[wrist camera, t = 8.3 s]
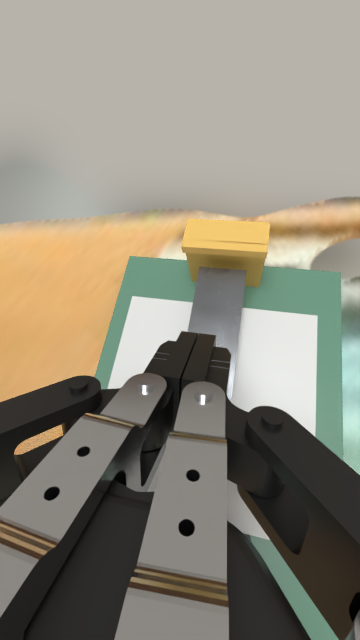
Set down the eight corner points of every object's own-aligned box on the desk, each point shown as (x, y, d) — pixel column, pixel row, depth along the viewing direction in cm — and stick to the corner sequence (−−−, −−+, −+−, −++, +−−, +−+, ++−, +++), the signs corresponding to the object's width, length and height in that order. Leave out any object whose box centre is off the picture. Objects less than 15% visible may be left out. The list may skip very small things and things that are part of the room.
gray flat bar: (211, 566, 14) (209, 580, 13) (151, 549, 15) (144, 560, 13) (245, 279, 19) (246, 267, 18) (200, 275, 20) (199, 263, 19)
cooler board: (336, 649, 15) (407, 780, 9) (51, 558, 18) (-31, 612, 12) (334, 280, 22) (372, 224, 16) (133, 264, 25) (107, 212, 20)
